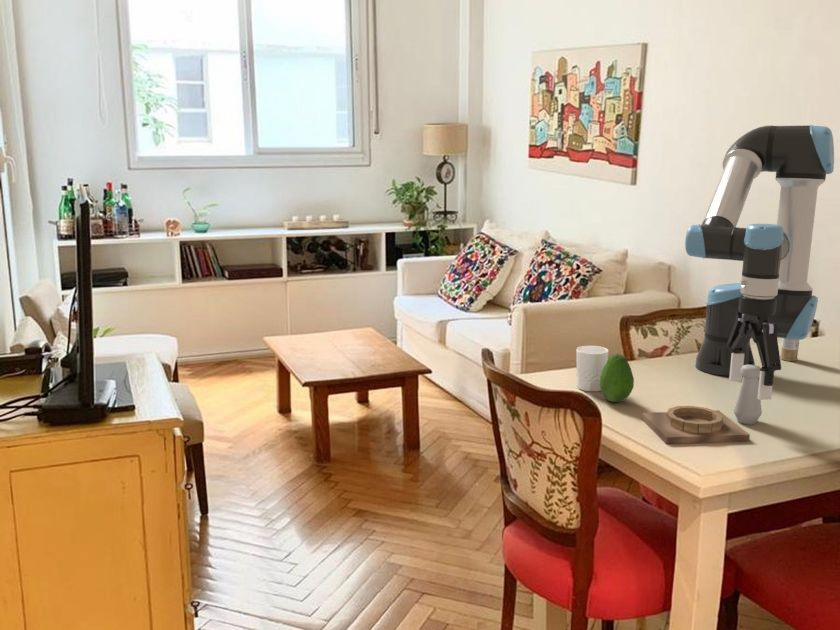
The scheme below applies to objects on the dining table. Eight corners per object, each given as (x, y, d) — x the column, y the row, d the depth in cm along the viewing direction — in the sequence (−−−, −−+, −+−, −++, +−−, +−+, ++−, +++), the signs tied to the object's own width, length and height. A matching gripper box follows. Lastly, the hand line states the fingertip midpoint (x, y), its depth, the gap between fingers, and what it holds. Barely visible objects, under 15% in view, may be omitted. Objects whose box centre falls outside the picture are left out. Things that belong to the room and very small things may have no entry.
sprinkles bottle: (787, 356, 238) (791, 310, 235) (801, 360, 234) (806, 313, 231) (776, 358, 236) (781, 312, 233) (790, 362, 232) (795, 315, 229)
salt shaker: (751, 416, 190) (756, 361, 187) (765, 425, 185) (771, 368, 182) (727, 417, 189) (732, 362, 186) (741, 426, 184) (746, 370, 181)
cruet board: (718, 416, 190) (719, 402, 189) (749, 441, 175) (750, 425, 174) (641, 419, 188) (642, 404, 188) (666, 444, 174) (667, 428, 173)
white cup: (570, 389, 209) (572, 351, 207) (580, 381, 216) (581, 344, 214) (601, 394, 206) (603, 355, 203) (610, 385, 212) (612, 347, 210)
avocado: (604, 407, 196) (606, 358, 193) (594, 396, 204) (597, 349, 201) (637, 406, 197) (640, 357, 194) (626, 395, 204) (629, 348, 202)
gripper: (716, 285, 192) (709, 374, 197) (770, 307, 168) (760, 407, 172) (748, 285, 193) (739, 373, 197) (805, 307, 168) (794, 407, 173)
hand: (749, 389), depth 185 cm, fingers open, 13 cm apart
